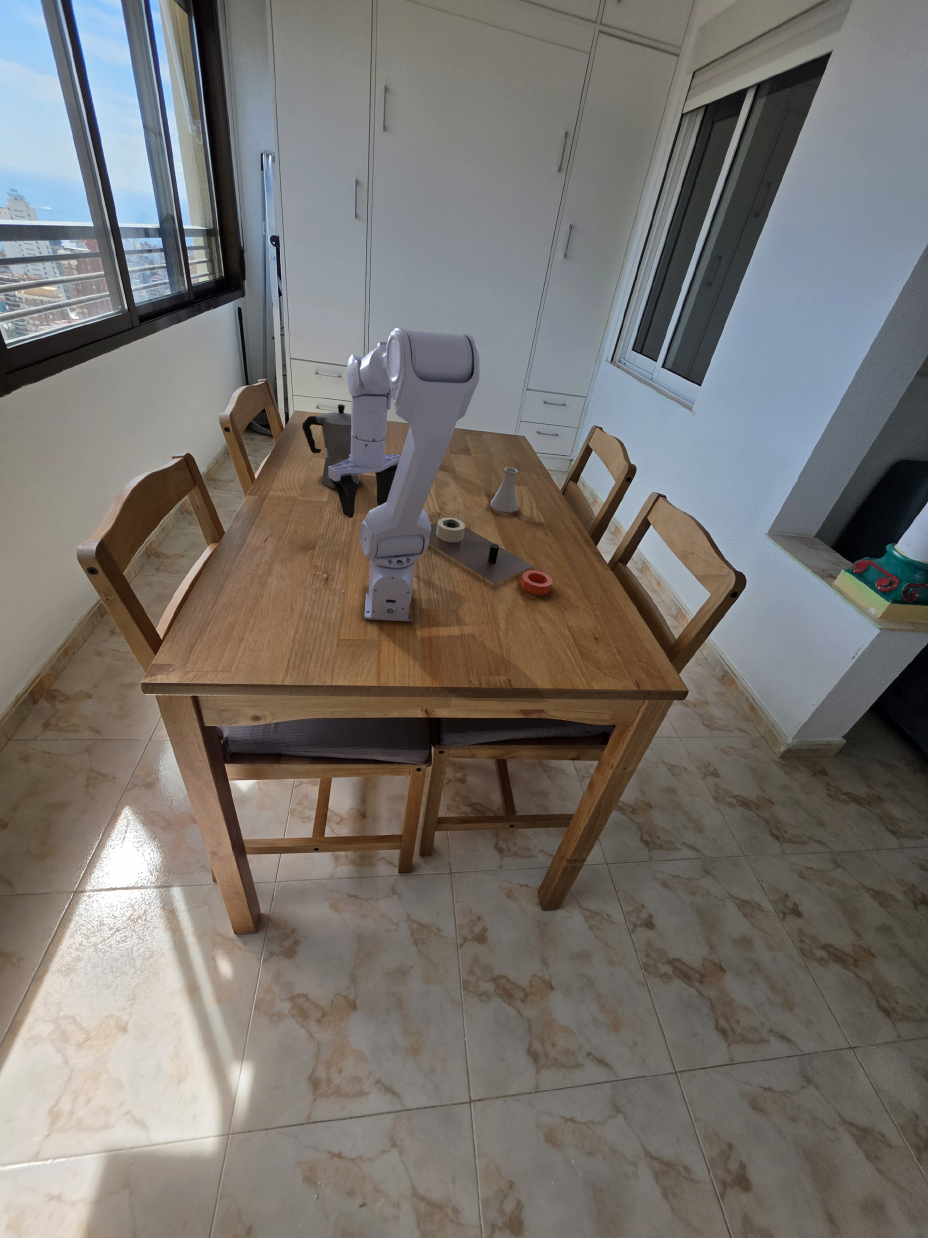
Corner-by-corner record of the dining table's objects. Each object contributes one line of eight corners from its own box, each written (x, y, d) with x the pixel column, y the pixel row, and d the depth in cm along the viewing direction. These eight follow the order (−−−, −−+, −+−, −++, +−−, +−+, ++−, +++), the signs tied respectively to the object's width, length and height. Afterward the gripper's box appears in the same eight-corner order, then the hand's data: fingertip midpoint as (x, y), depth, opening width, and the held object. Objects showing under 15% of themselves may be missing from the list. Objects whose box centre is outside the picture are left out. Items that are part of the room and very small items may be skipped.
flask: (483, 509, 127) (490, 469, 122) (496, 500, 133) (503, 461, 127) (510, 519, 125) (519, 478, 119) (522, 509, 131) (531, 470, 125)
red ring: (553, 598, 100) (557, 586, 98) (526, 599, 98) (529, 587, 96) (542, 582, 104) (545, 569, 102) (515, 583, 102) (518, 570, 101)
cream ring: (466, 542, 111) (468, 530, 109) (440, 542, 109) (441, 530, 107) (458, 529, 115) (460, 517, 113) (433, 529, 113) (435, 517, 111)
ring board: (532, 570, 107) (537, 550, 105) (493, 588, 100) (498, 568, 97) (449, 522, 119) (451, 503, 117) (408, 535, 112) (410, 515, 109)
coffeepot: (359, 472, 135) (361, 398, 124) (374, 487, 129) (377, 410, 118) (298, 476, 127) (294, 398, 117) (310, 493, 121) (308, 411, 111)
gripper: (387, 423, 95) (382, 494, 103) (317, 433, 86) (318, 510, 94) (413, 436, 92) (406, 508, 100) (343, 447, 83) (342, 526, 91)
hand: (365, 510), depth 97 cm, fingers open, 7 cm apart
